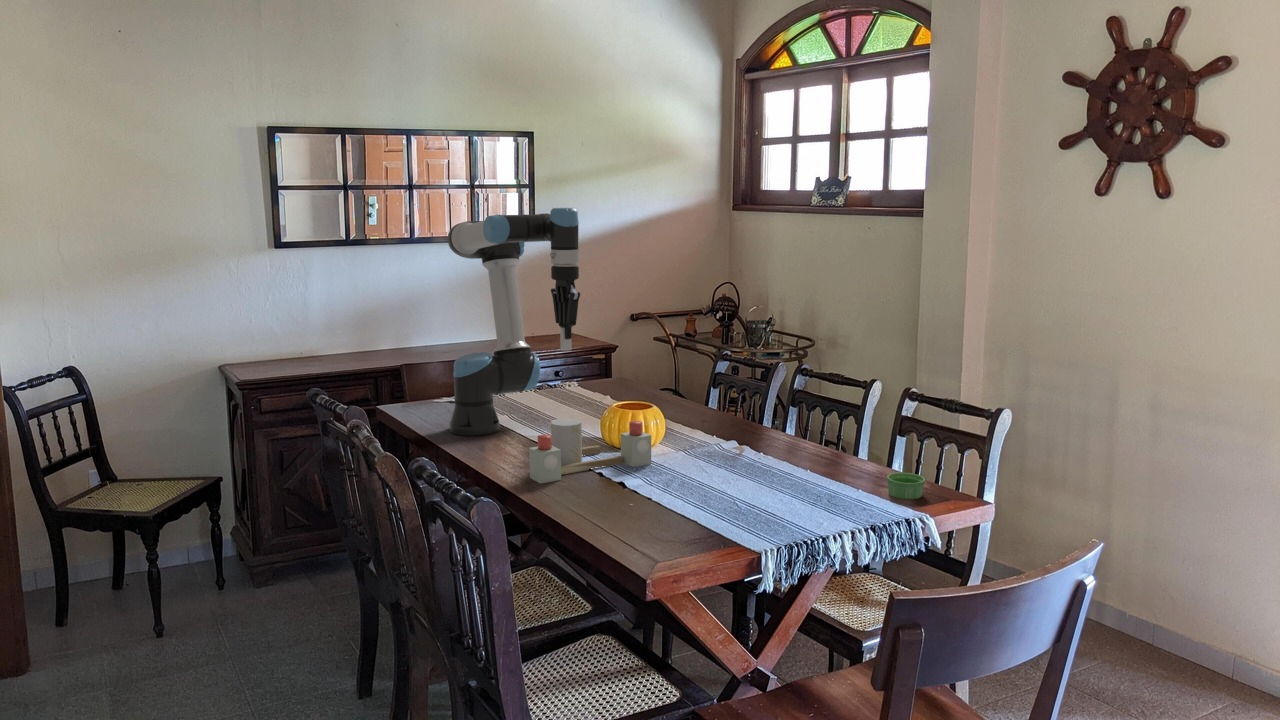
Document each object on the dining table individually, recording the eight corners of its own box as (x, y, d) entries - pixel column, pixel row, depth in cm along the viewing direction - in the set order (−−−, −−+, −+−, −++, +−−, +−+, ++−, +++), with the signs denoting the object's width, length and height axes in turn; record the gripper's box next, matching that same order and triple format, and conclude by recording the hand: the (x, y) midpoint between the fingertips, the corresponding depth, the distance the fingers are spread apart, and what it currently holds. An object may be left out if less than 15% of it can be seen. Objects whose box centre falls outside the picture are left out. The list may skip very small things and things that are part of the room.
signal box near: (529, 477, 260) (529, 447, 258) (550, 474, 263) (550, 444, 261) (540, 483, 254) (540, 453, 253) (561, 480, 257) (561, 449, 256)
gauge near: (535, 447, 258) (535, 435, 257) (547, 445, 260) (547, 433, 259) (541, 450, 255) (541, 438, 254) (554, 448, 257) (554, 436, 256)
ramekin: (882, 489, 250) (883, 472, 250) (919, 489, 250) (920, 472, 249) (890, 500, 242) (891, 483, 241) (928, 500, 241) (929, 483, 240)
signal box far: (620, 461, 274) (620, 433, 272) (639, 458, 277) (639, 430, 276) (633, 467, 269) (632, 438, 267) (651, 464, 272) (651, 435, 270)
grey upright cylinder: (577, 470, 266) (577, 426, 264) (548, 468, 268) (547, 424, 266) (585, 461, 274) (584, 419, 272) (556, 460, 276) (555, 417, 273)
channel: (537, 462, 274) (536, 455, 273) (597, 452, 284) (597, 445, 283) (560, 474, 262) (560, 467, 262) (623, 463, 272) (623, 456, 272)
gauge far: (626, 432, 272) (626, 422, 272) (638, 430, 274) (638, 420, 273) (633, 435, 269) (633, 424, 269) (645, 433, 271) (645, 423, 270)
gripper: (541, 263, 277) (543, 348, 281) (563, 267, 266) (565, 354, 270) (565, 262, 281) (567, 345, 285) (588, 266, 270) (589, 352, 274)
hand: (566, 350), depth 278 cm, fingers closed
